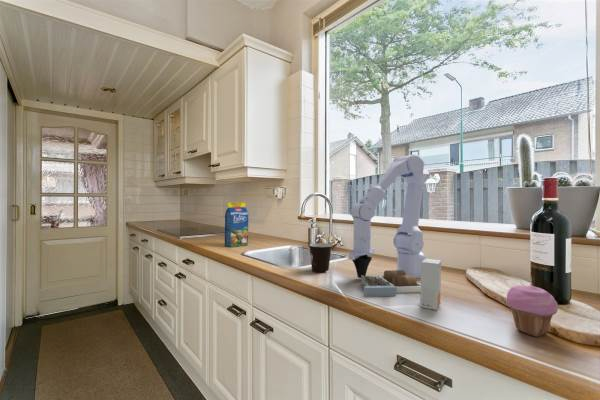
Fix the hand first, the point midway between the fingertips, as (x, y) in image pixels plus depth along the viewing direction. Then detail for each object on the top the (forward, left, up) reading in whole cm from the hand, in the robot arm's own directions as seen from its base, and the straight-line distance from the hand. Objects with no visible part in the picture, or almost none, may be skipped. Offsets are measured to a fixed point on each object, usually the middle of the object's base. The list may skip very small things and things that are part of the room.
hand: (361, 277), depth 103 cm
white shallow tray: (-10, +8, -1) cm, 13 cm away
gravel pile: (-1, +10, -2) cm, 10 cm away
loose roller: (-10, +10, 0) cm, 14 cm away
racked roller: (-10, +4, 0) cm, 11 cm away
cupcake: (-24, +41, -1) cm, 48 cm away
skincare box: (-11, +24, -1) cm, 27 cm away
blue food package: (+49, -78, -1) cm, 92 cm away
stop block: (0, +17, -1) cm, 17 cm away
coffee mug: (+11, -17, -1) cm, 20 cm away
